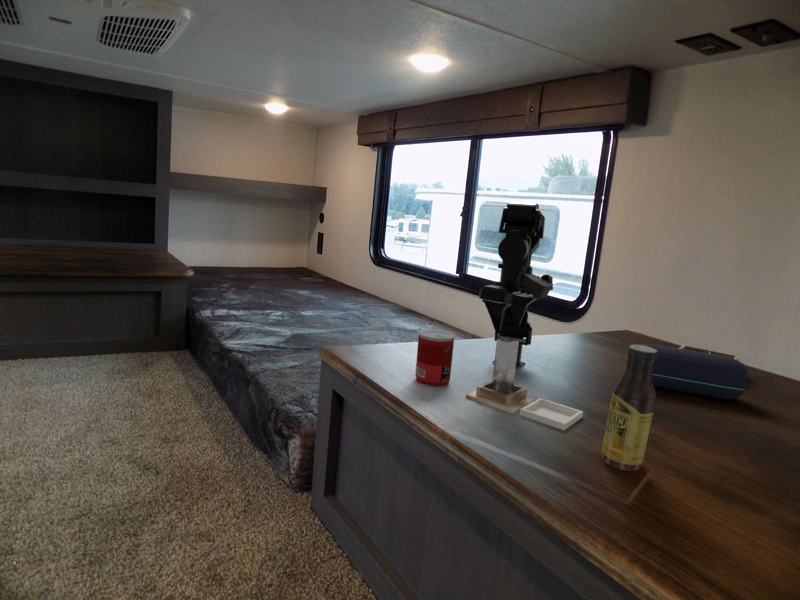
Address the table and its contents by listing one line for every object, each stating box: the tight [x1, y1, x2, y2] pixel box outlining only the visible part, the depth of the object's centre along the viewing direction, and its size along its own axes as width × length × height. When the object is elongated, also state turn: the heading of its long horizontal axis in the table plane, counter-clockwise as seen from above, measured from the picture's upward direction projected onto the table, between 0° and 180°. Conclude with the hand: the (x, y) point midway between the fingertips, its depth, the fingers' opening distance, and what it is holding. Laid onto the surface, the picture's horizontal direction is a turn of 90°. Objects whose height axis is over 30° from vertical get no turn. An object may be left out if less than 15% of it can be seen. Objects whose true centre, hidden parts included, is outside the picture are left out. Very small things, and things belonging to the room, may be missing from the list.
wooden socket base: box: [465, 380, 537, 415], centre depth 106 cm, size 10×11×3 cm
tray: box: [518, 398, 584, 431], centre depth 99 cm, size 9×9×2 cm
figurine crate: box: [677, 344, 740, 361], centre depth 141 cm, size 11×14×5 cm
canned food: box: [415, 329, 455, 387], centre depth 115 cm, size 8×8×11 cm
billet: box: [491, 338, 519, 395], centre depth 105 cm, size 4×4×12 cm
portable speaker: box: [640, 343, 749, 400], centre depth 122 cm, size 25×10×10 cm, turn 67°
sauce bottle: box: [601, 344, 657, 472], centre depth 80 cm, size 6×6×20 cm
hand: (507, 328), depth 116 cm, fingers open, 9 cm apart
